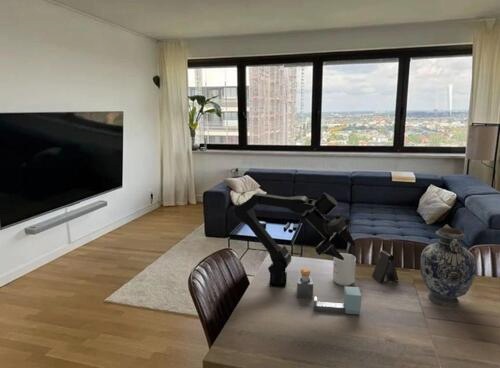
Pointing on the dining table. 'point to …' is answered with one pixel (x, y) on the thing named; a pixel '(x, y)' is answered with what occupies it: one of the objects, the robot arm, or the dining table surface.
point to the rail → (328, 306)
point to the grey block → (352, 300)
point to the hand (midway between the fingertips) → (349, 252)
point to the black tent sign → (385, 268)
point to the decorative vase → (447, 267)
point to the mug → (344, 269)
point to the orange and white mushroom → (305, 275)
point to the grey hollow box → (304, 288)
